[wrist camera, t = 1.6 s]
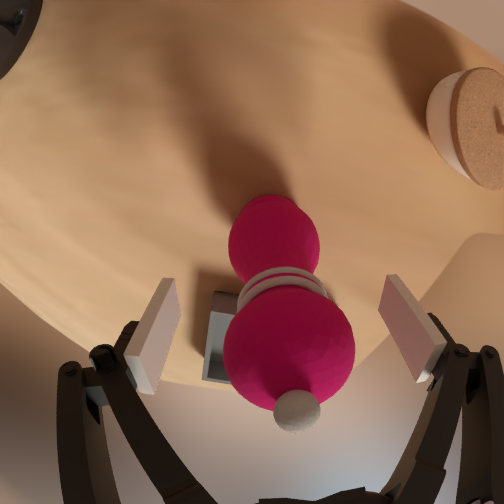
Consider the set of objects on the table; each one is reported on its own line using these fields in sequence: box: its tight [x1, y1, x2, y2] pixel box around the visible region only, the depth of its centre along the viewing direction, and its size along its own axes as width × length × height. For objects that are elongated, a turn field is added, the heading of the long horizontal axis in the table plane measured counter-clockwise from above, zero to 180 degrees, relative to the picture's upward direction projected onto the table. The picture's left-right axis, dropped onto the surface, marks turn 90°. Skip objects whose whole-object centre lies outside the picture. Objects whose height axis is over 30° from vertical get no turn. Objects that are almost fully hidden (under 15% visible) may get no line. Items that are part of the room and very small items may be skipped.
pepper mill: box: [223, 195, 355, 433], centre depth 18 cm, size 7×7×20 cm
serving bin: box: [202, 291, 239, 384], centre depth 31 cm, size 14×11×4 cm
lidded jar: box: [426, 67, 504, 191], centre depth 17 cm, size 11×11×9 cm
